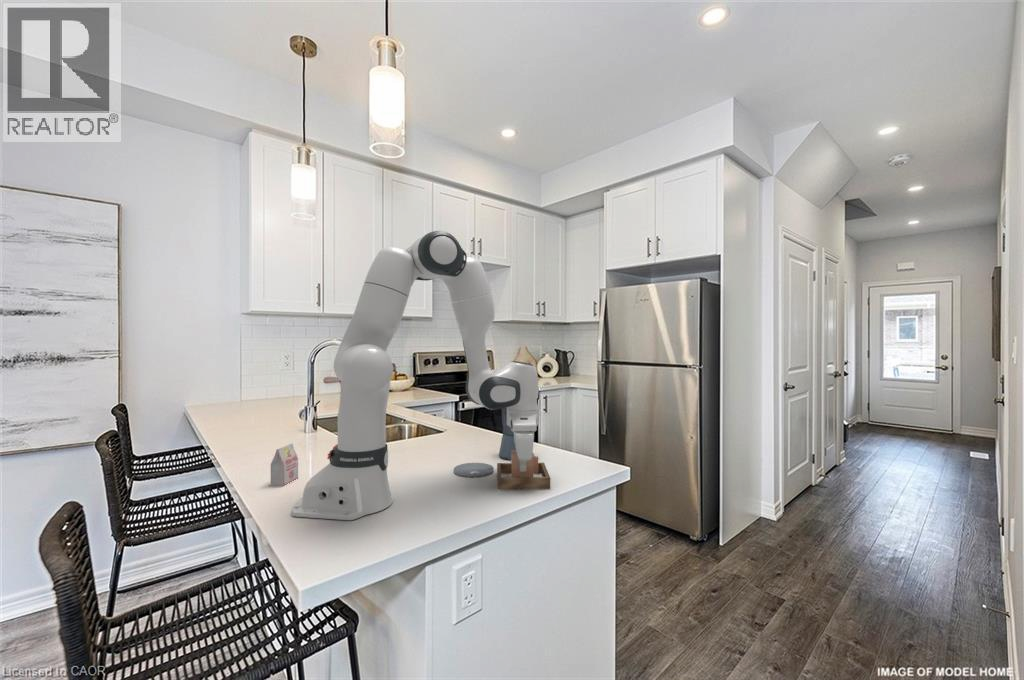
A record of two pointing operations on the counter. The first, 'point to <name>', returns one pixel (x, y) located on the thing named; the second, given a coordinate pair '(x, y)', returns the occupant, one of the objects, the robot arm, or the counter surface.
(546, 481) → the frame
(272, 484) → the milk carton
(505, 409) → the moka pot
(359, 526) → the counter surface
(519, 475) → the terracotta clay block
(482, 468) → the slate coaster
